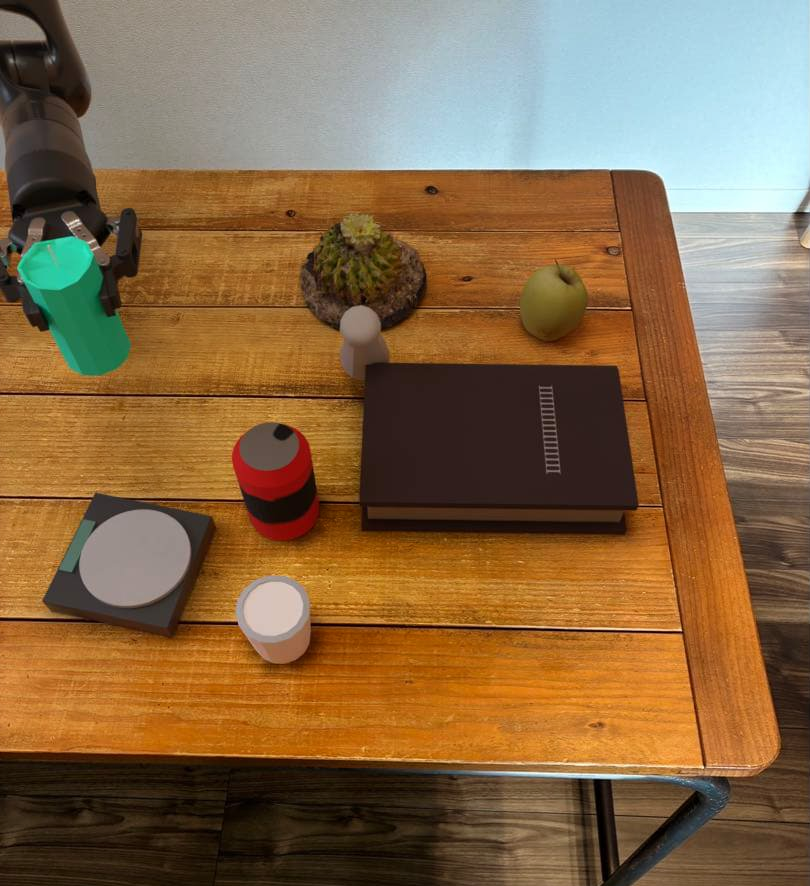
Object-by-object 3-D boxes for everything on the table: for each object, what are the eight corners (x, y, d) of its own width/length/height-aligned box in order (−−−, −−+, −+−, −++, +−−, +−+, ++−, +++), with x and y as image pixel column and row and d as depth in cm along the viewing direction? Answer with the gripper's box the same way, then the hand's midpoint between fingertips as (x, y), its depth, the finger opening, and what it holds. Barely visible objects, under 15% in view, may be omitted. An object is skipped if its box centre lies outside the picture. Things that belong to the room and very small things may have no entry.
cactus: (415, 341, 100) (416, 280, 92) (288, 326, 101) (277, 264, 93) (435, 245, 108) (438, 181, 100) (317, 231, 110) (310, 167, 101)
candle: (141, 333, 76) (100, 227, 65) (114, 382, 73) (66, 280, 62) (82, 320, 76) (31, 213, 66) (52, 368, 73) (-6, 265, 63)
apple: (506, 343, 99) (524, 264, 92) (520, 313, 104) (537, 238, 97) (570, 360, 97) (593, 282, 91) (581, 329, 103) (603, 253, 96)
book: (605, 391, 96) (616, 357, 91) (624, 534, 87) (638, 505, 82) (367, 388, 96) (366, 353, 91) (361, 531, 87) (359, 501, 82)
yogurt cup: (237, 661, 80) (224, 633, 74) (260, 599, 83) (249, 567, 77) (305, 677, 79) (297, 650, 73) (325, 614, 82) (319, 583, 76)
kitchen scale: (50, 611, 82) (39, 598, 80) (102, 504, 88) (93, 489, 86) (172, 638, 81) (165, 626, 78) (216, 527, 87) (210, 512, 84)
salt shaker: (334, 349, 97) (323, 307, 84) (378, 331, 97) (374, 286, 84) (352, 394, 97) (344, 358, 84) (397, 375, 97) (396, 337, 84)
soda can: (333, 504, 89) (325, 437, 78) (290, 554, 86) (275, 492, 75) (279, 471, 91) (263, 402, 80) (234, 519, 88) (212, 454, 77)
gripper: (-49, 163, 70) (-37, 302, 63) (118, 132, 73) (150, 262, 65) (-11, 234, 77) (4, 367, 69) (141, 203, 79) (173, 329, 72)
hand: (75, 315), depth 67 cm, fingers closed on candle, 5 cm apart
